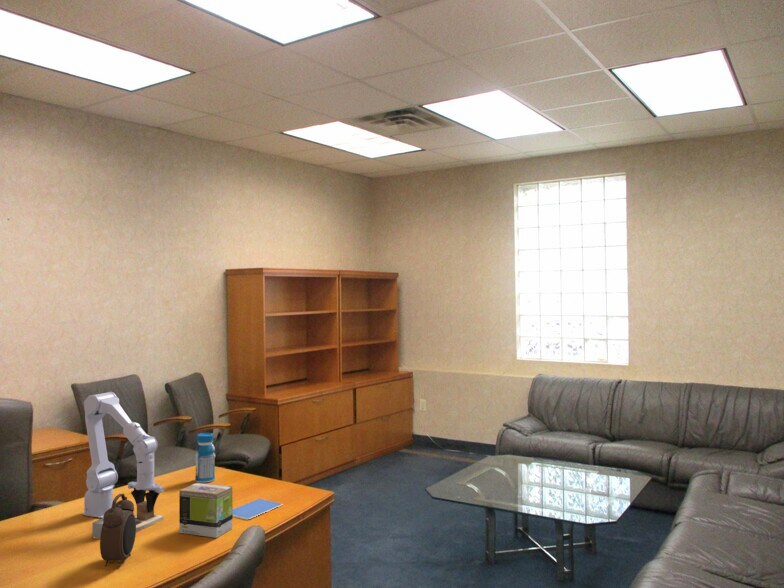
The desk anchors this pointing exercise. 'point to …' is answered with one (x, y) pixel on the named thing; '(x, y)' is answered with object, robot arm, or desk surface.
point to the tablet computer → (254, 509)
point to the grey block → (97, 528)
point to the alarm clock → (118, 531)
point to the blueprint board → (147, 522)
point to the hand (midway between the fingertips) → (145, 510)
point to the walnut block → (144, 511)
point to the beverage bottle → (205, 458)
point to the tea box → (205, 510)
